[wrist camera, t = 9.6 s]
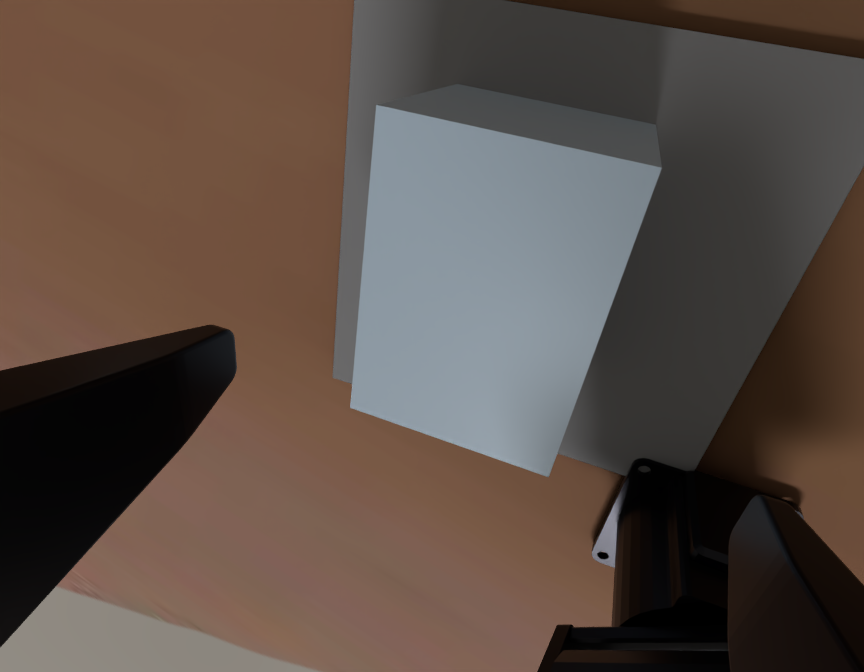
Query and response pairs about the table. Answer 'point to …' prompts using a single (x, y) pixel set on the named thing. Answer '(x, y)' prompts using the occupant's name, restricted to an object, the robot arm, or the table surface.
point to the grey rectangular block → (493, 263)
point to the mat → (670, 202)
